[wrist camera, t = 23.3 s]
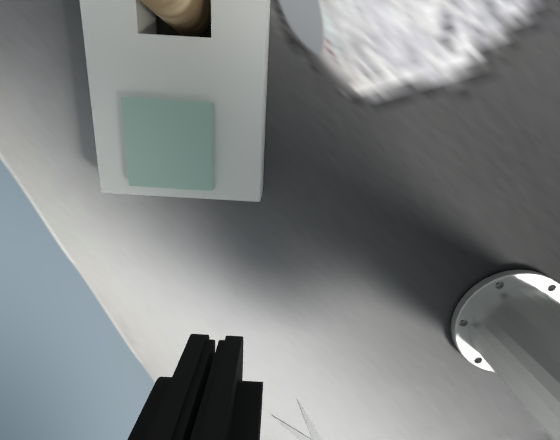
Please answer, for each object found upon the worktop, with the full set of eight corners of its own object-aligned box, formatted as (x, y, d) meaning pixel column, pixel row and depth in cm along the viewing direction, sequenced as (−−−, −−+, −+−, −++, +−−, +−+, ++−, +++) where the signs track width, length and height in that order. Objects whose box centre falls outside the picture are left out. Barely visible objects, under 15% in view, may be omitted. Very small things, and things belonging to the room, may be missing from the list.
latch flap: (213, 102, 26) (210, 102, 25) (214, 188, 28) (211, 190, 27) (127, 98, 26) (121, 97, 25) (134, 183, 28) (128, 185, 27)
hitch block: (272, -47, 26) (270, -76, 23) (262, 192, 32) (259, 201, 28) (100, -58, 26) (69, -88, 22) (122, 184, 32) (100, 192, 28)
